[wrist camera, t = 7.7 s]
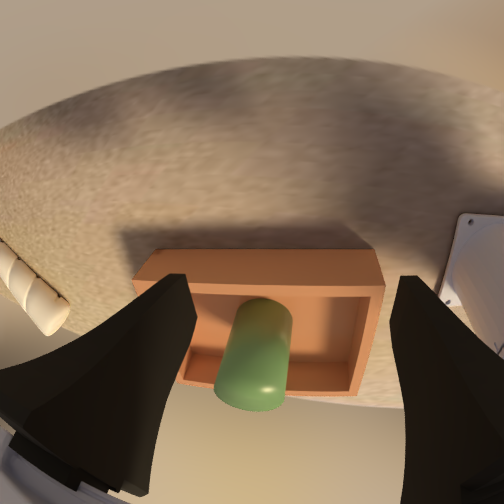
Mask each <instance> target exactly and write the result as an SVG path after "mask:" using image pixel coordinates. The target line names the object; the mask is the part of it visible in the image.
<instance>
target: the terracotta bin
mask: <svg viewBox="0 0 504 504" xmlns="http://www.w3.org/2000/svg"><path fill="white" fill-rule="evenodd" d="M170 273H177V274H186V278H187V281H188V285H189V289H190V292H191V296H192V299H193V303H194V306H195V310H196V313H197V316H198V318H197V322H196V326H195V330H194V333H193V337H192V340H191V343H190V346H189V348H188V350H187V353H186V355H185V357H184V360H183V362H182V365H181V367H180V369H179V372H178V374H177V376H176V381H177V383H180V384H186V385H192V386H198V387H205V388H212V389H214V384H215V380H216V377H217V374H218V371H219V367H220V364H221V361H222V358H223V354H224V351H225V348H226V345H227V341H228V338H229V335H230V331H231V328H232V325H233V322H234V318H235V315H236V312H237V309H238V308H239V306H240V305H241V304H243V303H244V302H246V301H248V300H251V299H257V298H265V299H270V300H274V301H277V302H279V303H281V304H282V305H284V306H285V307H286V308H287V309H288V310H289V312H290V313H291V315H292V319H293V325H292V335H291V345H290V354H289V364H288V373H287V381H286V390H285V395H291V396H357V393H358V390H359V387H360V384H361V381H362V378H363V374H364V371H365V368H366V364H367V361H368V357H369V354H370V350H371V347H372V343H373V339H374V335H375V331H376V327H377V323H378V319H379V315H380V310H381V306H382V301H383V297H384V292H385V287H386V285H385V281H384V278H383V275H382V272H381V268H380V265H379V262H378V259H377V256H376V253H375V250H374V249H156V250H155V251H154V252H153V253H152V255H151V256H150V257H149V258H148V260H147V261H146V262H145V263H144V265H143V266H142V267H141V268H140V270H139V271H138V272H137V274H136V275H135V276H134V278H133V279H132V282H133V285H134V287H135V290H136V292H137V295H138V296H140V295H141V294H142V293H144V292H145V291H146V290H147V289H149V288H150V287H151V286H153V285H154V284H155V283H157V282H158V281H159V280H161V279H162V278H163V277H165V276H166V275H168V274H170Z"/></svg>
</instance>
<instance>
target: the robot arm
mask: <svg viewBox="0 0 504 504" xmlns="http://www.w3.org/2000/svg"><path fill="white" fill-rule="evenodd" d="M470 219H472V220H471V222H470V223H468V222H469V220H470ZM447 300H448V301H447ZM449 306H463V308H464V310H465V312H466V314H467V316H468V318H469V321H470V323H471V325H472V327H473V329H474V332H475V334H476V335H475V334H474V333H473V332H472V331H471V330H470V329H469V328H468V327H467V326H466V325H465V324H464V323H463V322H462V321H461V320H460V319H459V318H458V317H457V316H456V315H455V314H454V313H453V312H452V311H451V310H450V309H449V308H448V307H449ZM197 318H198V316H197V313H196V310H195V306H194V303H193V299H192V296H191V292H190V289H189V285H188V281H187V278H186V274H177V273H170V274H168V275H166V276H165V277H163V278H162V279H161V280H159V281H158V282H157V283H155V284H154V285H153V286H151V287H150V288H149V289H147V290H146V291H145V292H144V293H142V294H141V295H140V296H138V297H137V298H136V299H134V300H133V301H132V302H131V303H129V304H128V305H127V306H125V307H124V308H123V309H121V310H120V311H118V312H117V313H116V314H114V315H113V316H111V317H110V318H109V319H107V320H106V321H105V322H103V323H102V324H100V325H99V326H97V327H96V328H94V329H92V330H91V331H89V332H88V333H86V334H84V335H83V336H81V337H79V338H78V339H76V340H74V341H72V342H70V343H68V344H66V345H64V346H62V347H60V348H58V349H56V350H54V351H52V352H50V353H48V354H45V355H43V356H41V357H38V358H36V359H33V360H30V361H28V362H25V363H22V364H19V365H16V366H12V367H8V368H5V369H1V370H0V417H1V418H2V419H3V420H4V421H5V422H6V423H8V424H9V425H10V426H11V427H12V428H13V429H14V430H16V432H15V434H14V436H13V435H12V434H10V433H9V432H8V431H7V430H5V429H4V428H3V427H2V426H1V425H0V504H129V503H127V502H125V501H122V500H120V499H118V498H115V497H113V496H111V495H109V494H107V492H108V490H109V489H110V490H112V491H114V492H117V493H119V492H120V490H123V491H126V492H128V493H130V494H133V495H136V496H138V497H142V496H145V495H147V494H148V492H149V482H150V474H151V466H152V461H153V455H154V449H155V444H156V439H157V435H158V431H159V427H160V423H161V419H162V415H163V412H164V408H165V405H166V401H167V398H168V396H169V393H170V390H171V388H172V385H173V383H174V381H175V379H176V376H177V374H178V372H179V369H180V367H181V365H182V362H183V360H184V357H185V355H186V353H187V350H188V348H189V346H190V343H191V340H192V337H193V333H194V330H195V326H196V322H197ZM389 323H390V332H391V341H392V349H393V354H394V358H395V363H396V367H397V372H398V377H399V382H400V387H401V392H402V397H403V403H404V411H405V429H406V430H405V432H406V446H405V469H404V480H403V489H402V496H401V502H400V504H504V216H497V215H483V214H467V213H464V214H461V215H460V216H459V218H458V222H457V226H456V231H455V236H454V240H453V244H452V248H451V252H450V256H449V260H448V264H447V267H446V271H445V274H444V278H443V281H442V284H441V288H440V291H439V294H438V296H437V295H436V294H435V293H434V292H433V291H432V290H431V289H430V288H429V287H428V286H427V285H426V284H425V283H424V282H423V281H422V280H421V279H420V278H419V277H418V276H400V280H399V284H398V289H397V293H396V297H395V301H394V305H393V309H392V313H391V317H390V321H389Z"/></svg>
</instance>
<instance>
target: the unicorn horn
mask: <svg viewBox="0 0 504 504" xmlns="http://www.w3.org/2000/svg"><path fill="white" fill-rule="evenodd" d="M17 258H18V256H17V255H16V254H15V253H14V252H13V251H12V250H11V249H10V248H9V247H8V246H7V245H6V244H5V243H4V242H3V243H2V242H1V239H0V277H1V278H2V280H3V281H4V283H5V284H6V286H7V287H8V288H9V290H10V291H11V293H12V294H13V296H14V297H15V298H16V300H17V301H18V302H19V304H20V305H21V306H22V308H23V309H24V310H25V311H26V312H27V314H28V315H29V316H30V318H31V319H32V320H33V322H34V323H35V324H36V325H37V326H38V328H39V329H40V330H41V331H42V333H44V334H45V335H46V336H50V335H52V334H53V333H54V332H55V331H57V330H58V329H59V327H60V326H61V325H62V324H63V322H64V321H65V320H66V318H67V316H68V314H69V312H70V305H69V303H68V302H67V301H66V300H65V299H63V298H62V297H60V298H59V297H58V296H57V295H58V294H57V293H56V292H55V291H54V290H53V289H52V288H51V287H49V286H48V285H47V284H46V283H45V282H44V281H43V280H42V279H41V278H39V279H38V278H37V277H36V276H37V275H36V274H35V273H34V272H33V271H32V270H31V269H30V268H29V267H28V266H27V265H26V264H25V263H24V262H23V261H22V260H18V259H17Z"/></svg>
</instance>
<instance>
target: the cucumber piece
mask: <svg viewBox="0 0 504 504" xmlns="http://www.w3.org/2000/svg"><path fill="white" fill-rule="evenodd" d="M292 325H293V319H292V315H291V313H290V312H289V310H288V309H287V308H286V307H285V306H284V305H282V304H281V303H279V302H277V301H274V300H270V299H265V298H257V299H251V300H248V301H246V302H244V303H243V304H241V305H240V306H239V308H238V309H237V312H236V315H235V318H234V322H233V325H232V328H231V331H230V335H229V338H228V341H227V345H226V348H225V351H224V354H223V358H222V361H221V364H220V367H219V371H218V374H217V377H216V380H215V384H214V392H215V394H216V395H217V397H218V398H220V399H221V400H222V401H223V402H225V403H227V404H228V405H230V406H233V407H235V408H239V409H242V410H247V411H258V412H259V411H269V410H273V409H275V408H277V407H279V406H280V405H281V404H282V403H283V402H284V397H285V390H286V381H287V373H288V364H289V354H290V345H291V335H292Z"/></svg>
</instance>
